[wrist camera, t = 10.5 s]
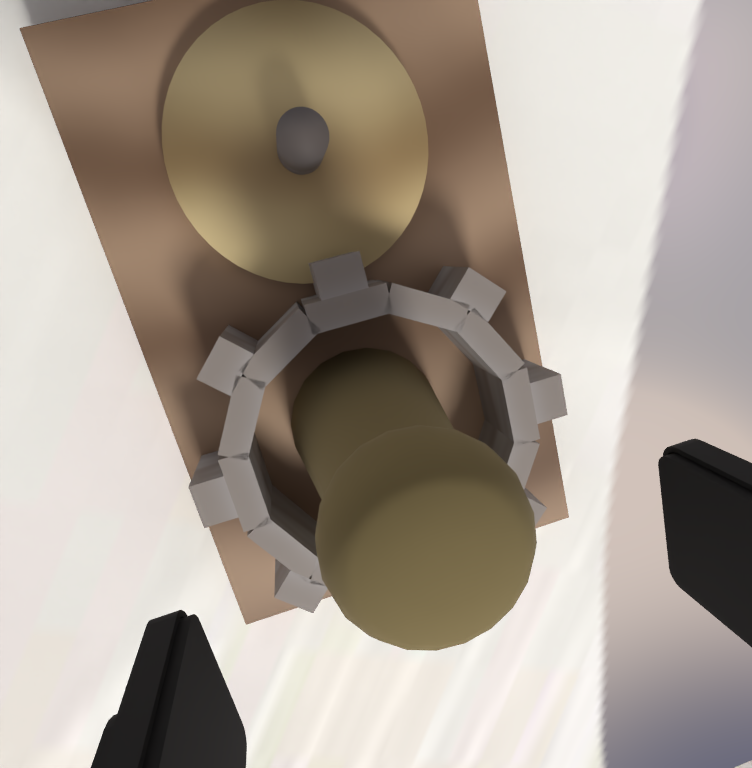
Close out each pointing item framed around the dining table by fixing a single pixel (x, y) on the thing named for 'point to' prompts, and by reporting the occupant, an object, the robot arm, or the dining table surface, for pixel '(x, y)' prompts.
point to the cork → (408, 505)
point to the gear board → (302, 238)
